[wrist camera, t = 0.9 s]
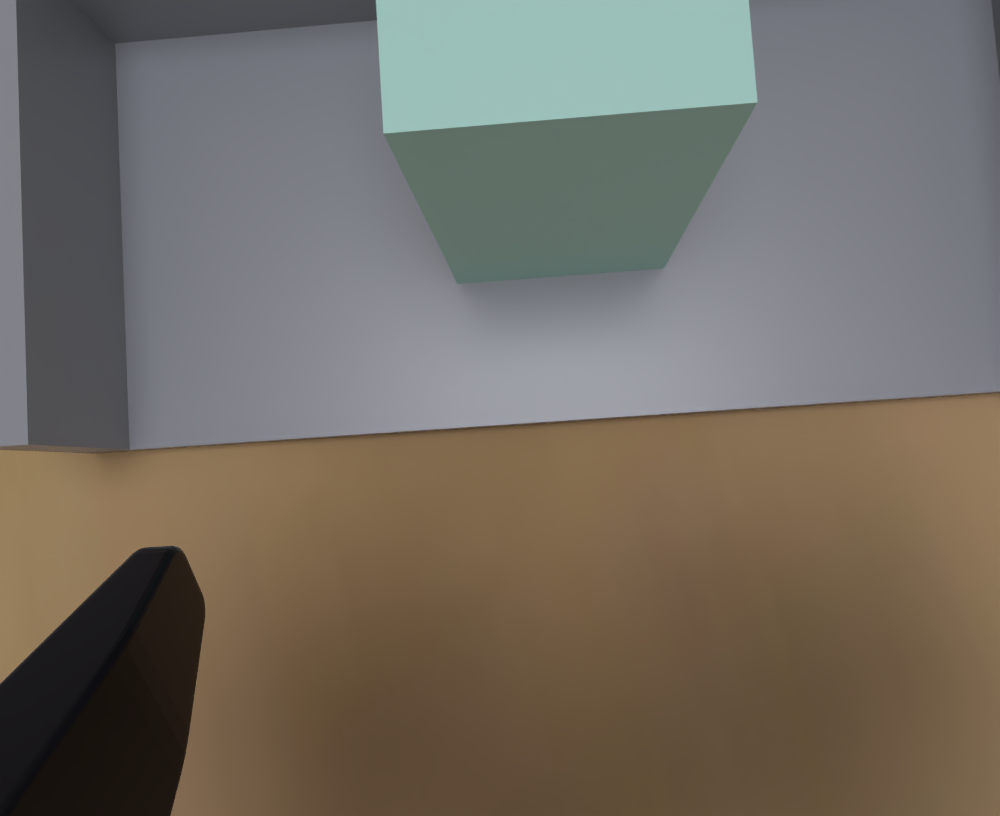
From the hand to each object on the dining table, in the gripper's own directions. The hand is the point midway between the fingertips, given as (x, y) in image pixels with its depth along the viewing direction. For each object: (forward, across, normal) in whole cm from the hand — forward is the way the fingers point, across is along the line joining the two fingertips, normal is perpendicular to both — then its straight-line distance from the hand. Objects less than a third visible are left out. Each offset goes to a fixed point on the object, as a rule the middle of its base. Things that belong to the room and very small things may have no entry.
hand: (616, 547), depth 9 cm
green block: (+15, 0, +3) cm, 15 cm away
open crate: (+15, 0, +3) cm, 15 cm away
